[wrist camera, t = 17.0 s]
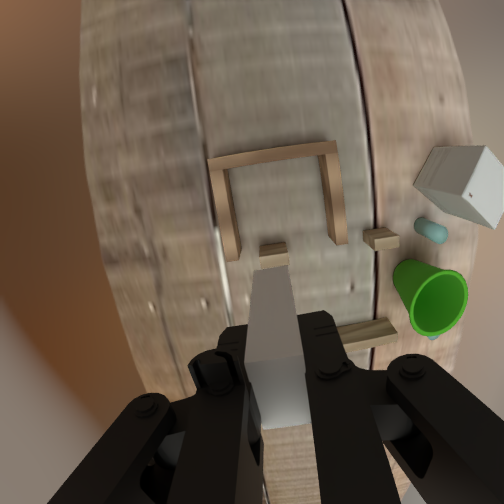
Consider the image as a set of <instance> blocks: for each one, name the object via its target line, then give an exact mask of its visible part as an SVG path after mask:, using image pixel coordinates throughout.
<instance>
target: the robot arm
mask: <svg viewBox="0 0 504 504" xmlns="http://www.w3.org/2000/svg"><path fill="white" fill-rule="evenodd" d="M188 368H189V371H190V373H191V376H192V378H193V381H194V383H195V386H196V388H197V391H196V394H195V395H193V396H191V397H188V398H186V399H182V400H178V401H175V402H171V403H170V402H169V400H168V399H167V398H166V396H165V395H162V394H159V393H147V394H143V395H141V396H139V397H137V398H135V399H133V400H132V401H131V402H130V403H129V404H128V405H127V406H126V408H125V409H124V410H123V411H122V412H121V414H120V415H119V416H118V417H117V419H116V420H115V421H114V422H113V423H112V425H111V426H110V427H109V428H108V430H107V431H106V432H105V433H104V434H103V436H102V437H101V438H100V439H99V441H98V442H97V443H96V444H95V446H94V447H93V448H92V449H91V451H90V452H89V453H88V454H87V455H86V457H85V458H84V459H83V460H82V462H81V463H80V464H79V465H78V466H77V468H76V469H75V470H74V471H73V472H72V474H71V475H70V476H69V477H68V479H67V480H66V481H65V482H64V483H63V485H62V486H61V487H60V488H59V490H58V491H57V492H56V493H55V495H54V496H53V497H52V498H51V499H50V501H49V502H48V503H47V504H262V494H263V451H264V443H263V439H262V435H261V423H262V426H263V430H264V429H273V428H281V427H289V426H296V425H303V424H309V423H312V430H313V438H314V446H315V454H316V462H317V470H318V479H319V488H320V497H321V504H401V501H400V498H399V494H398V491H397V487H396V484H395V481H394V477H393V474H392V471H391V468H390V464H389V461H388V458H387V455H386V452H385V449H384V445H385V446H386V448H387V449H388V451H389V452H390V453H391V455H392V456H393V458H394V459H395V460H396V462H397V463H398V465H399V466H400V467H401V469H402V470H403V471H404V473H405V474H406V476H407V477H408V478H409V480H410V481H411V483H412V484H413V485H414V487H415V488H416V489H417V491H418V492H419V494H420V495H421V496H422V498H423V499H424V501H425V502H426V503H427V504H504V421H503V420H502V419H501V418H500V417H499V416H497V415H496V414H495V413H494V412H493V411H492V410H491V409H490V408H488V407H487V406H486V405H485V404H484V403H483V402H481V401H480V400H479V399H478V398H477V397H476V396H475V395H473V394H472V393H471V392H470V391H469V390H468V389H466V388H465V387H464V386H463V385H462V384H461V383H459V382H458V381H457V380H456V379H455V378H454V377H452V376H451V375H450V374H449V373H448V372H446V371H445V370H444V369H443V368H442V367H441V366H439V365H438V364H437V363H436V362H435V361H433V360H432V359H430V358H429V357H427V356H425V355H420V354H406V355H403V356H400V357H397V358H396V359H394V360H393V361H391V363H390V364H389V366H388V367H387V370H365V369H361V368H359V367H357V366H355V364H354V363H353V362H352V361H351V360H349V359H348V357H347V354H346V351H345V349H344V346H343V343H342V341H341V338H340V335H339V333H338V330H337V327H336V325H335V322H334V319H333V317H332V316H331V315H330V314H329V313H327V312H326V311H324V310H322V311H317V312H312V313H306V314H301V315H297V314H296V308H295V303H294V297H293V292H292V286H291V281H290V276H289V270H288V265H284V266H278V267H273V268H267V269H262V270H256V271H254V274H253V284H252V293H251V302H250V312H249V321H248V324H246V325H239V326H232V327H227V328H226V329H225V330H224V331H223V332H222V334H221V335H220V336H219V340H218V346H217V349H212V350H207V351H205V352H203V353H200V354H198V355H197V356H196V357H194V358H193V359H192V360H191V361H190V363H189V364H188ZM382 441H383V442H382ZM383 444H384V445H383Z"/></svg>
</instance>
